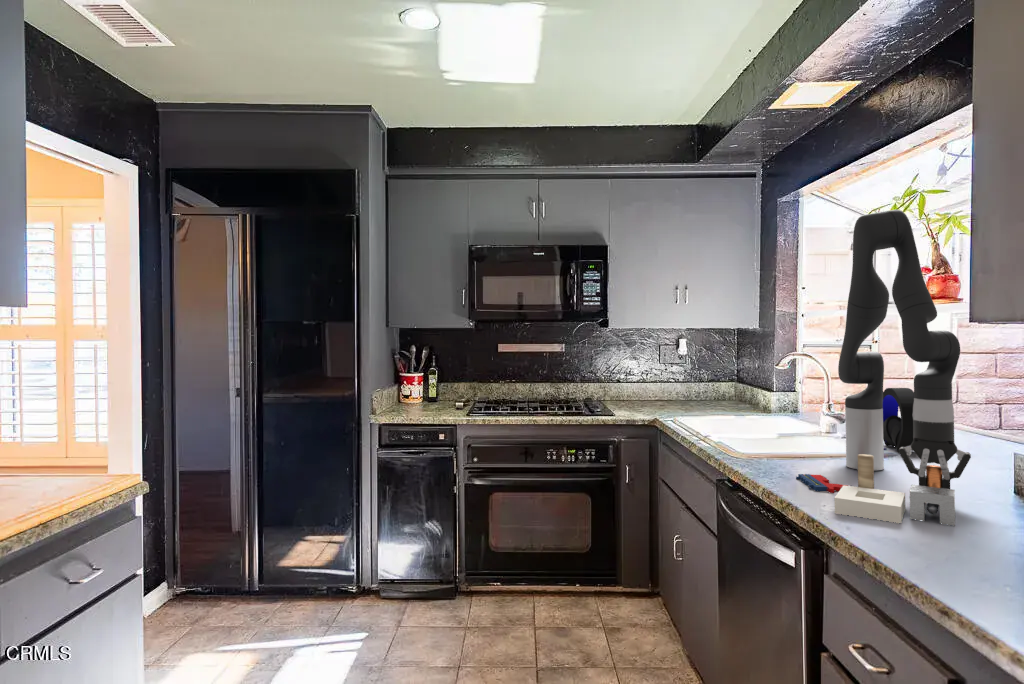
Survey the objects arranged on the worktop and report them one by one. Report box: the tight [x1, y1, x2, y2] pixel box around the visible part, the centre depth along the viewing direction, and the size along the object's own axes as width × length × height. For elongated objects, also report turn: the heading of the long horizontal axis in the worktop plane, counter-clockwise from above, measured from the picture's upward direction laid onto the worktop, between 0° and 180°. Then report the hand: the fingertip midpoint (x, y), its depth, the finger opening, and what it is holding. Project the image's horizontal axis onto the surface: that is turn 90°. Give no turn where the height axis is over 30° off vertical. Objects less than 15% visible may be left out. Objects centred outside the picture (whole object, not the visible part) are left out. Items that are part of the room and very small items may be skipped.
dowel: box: [857, 454, 875, 489], centre depth 136 cm, size 3×3×10 cm
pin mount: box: [909, 484, 956, 527], centre depth 120 cm, size 7×6×6 cm
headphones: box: [883, 387, 914, 452], centre depth 186 cm, size 18×7×20 cm, turn 167°
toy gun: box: [795, 473, 852, 494], centre depth 147 cm, size 15×2×10 cm
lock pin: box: [925, 464, 943, 515], centre depth 125 cm, size 3×16×8 cm, turn 142°
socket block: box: [834, 484, 906, 524], centre depth 126 cm, size 12×12×4 cm
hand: (934, 493), depth 130 cm, fingers closed on lock pin, 3 cm apart
